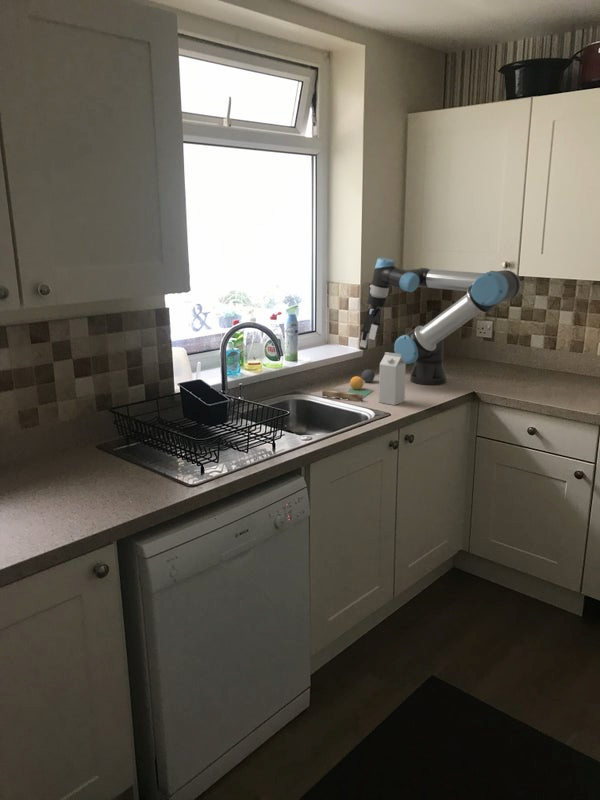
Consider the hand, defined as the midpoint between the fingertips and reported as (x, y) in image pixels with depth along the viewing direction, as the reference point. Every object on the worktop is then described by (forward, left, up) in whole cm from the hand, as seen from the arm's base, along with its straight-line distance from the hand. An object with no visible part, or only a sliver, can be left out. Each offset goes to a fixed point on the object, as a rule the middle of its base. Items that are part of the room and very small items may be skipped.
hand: (367, 342), depth 283 cm
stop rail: (-3, +35, -16) cm, 39 cm away
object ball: (-3, +19, -13) cm, 24 cm away
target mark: (-3, +26, -16) cm, 30 cm away
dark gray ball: (-3, +5, -13) cm, 14 cm away
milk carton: (-22, +32, -16) cm, 42 cm away
